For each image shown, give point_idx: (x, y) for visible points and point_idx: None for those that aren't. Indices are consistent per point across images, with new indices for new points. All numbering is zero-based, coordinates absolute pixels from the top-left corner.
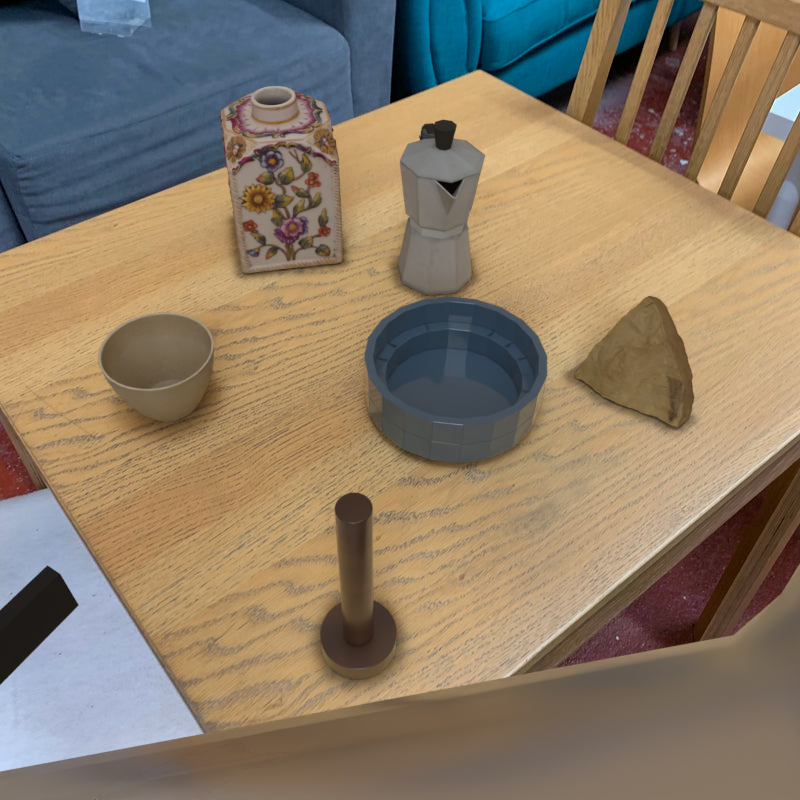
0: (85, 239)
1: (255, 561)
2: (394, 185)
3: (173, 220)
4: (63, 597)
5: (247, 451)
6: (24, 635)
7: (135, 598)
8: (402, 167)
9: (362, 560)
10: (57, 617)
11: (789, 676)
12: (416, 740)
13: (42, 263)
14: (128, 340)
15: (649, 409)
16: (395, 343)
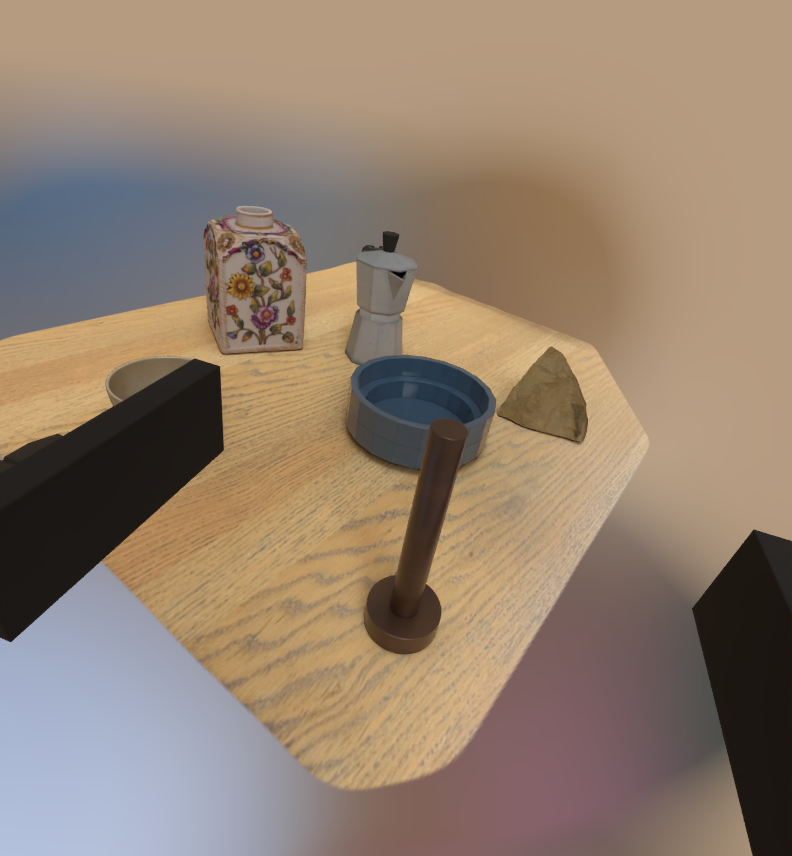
0: (73, 330)
1: (280, 559)
2: (327, 309)
3: (154, 321)
4: (213, 419)
5: (252, 472)
6: (160, 459)
7: (156, 606)
8: (358, 264)
9: (447, 495)
10: (200, 454)
11: None
12: None
13: (30, 344)
14: (132, 379)
15: (559, 431)
16: (367, 388)
